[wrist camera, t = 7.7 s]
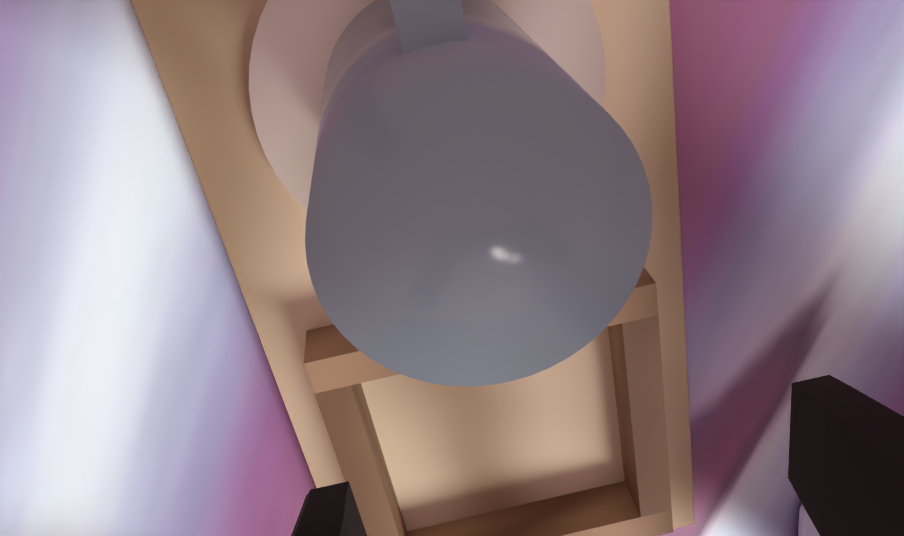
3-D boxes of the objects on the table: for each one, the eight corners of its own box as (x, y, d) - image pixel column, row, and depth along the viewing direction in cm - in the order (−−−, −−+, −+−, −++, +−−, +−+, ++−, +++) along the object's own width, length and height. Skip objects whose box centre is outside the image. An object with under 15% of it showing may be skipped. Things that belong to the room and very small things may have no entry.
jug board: (649, -199, 17) (689, -207, 15) (688, 511, 27) (714, 560, 25) (109, -81, 16) (77, -73, 14) (359, 587, 27) (360, 643, 25)
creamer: (549, 169, 19) (663, 345, 12) (355, 214, 19) (356, 417, 12) (505, -141, 16) (625, -146, 9) (269, -87, 16) (200, -50, 9)
